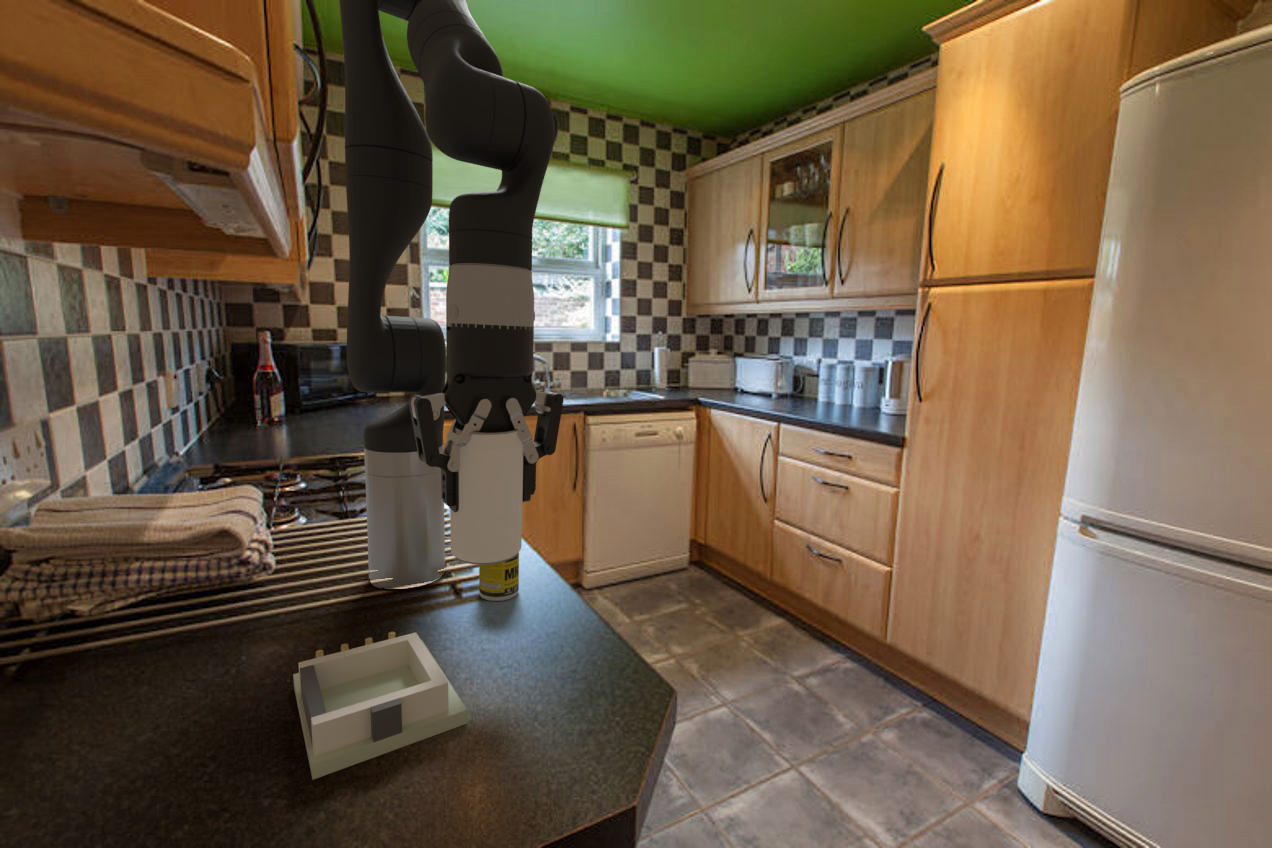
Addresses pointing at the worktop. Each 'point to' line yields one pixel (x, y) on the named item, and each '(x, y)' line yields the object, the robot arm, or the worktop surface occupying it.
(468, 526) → the can
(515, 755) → the worktop surface
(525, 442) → the robot arm
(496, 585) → the supplement bottle
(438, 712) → the socket board
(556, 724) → the worktop surface
